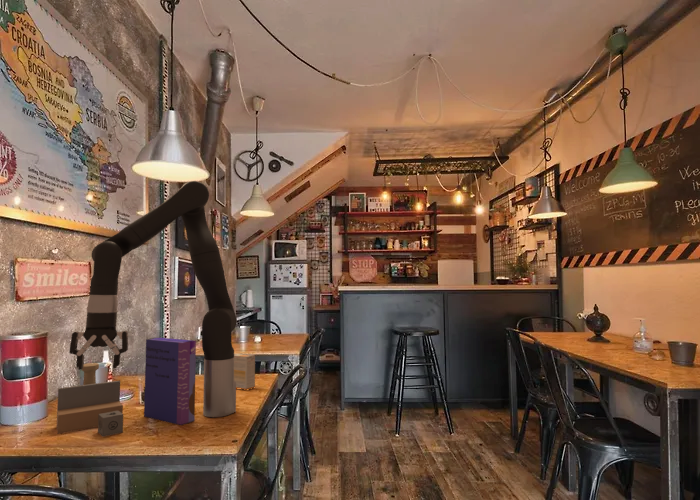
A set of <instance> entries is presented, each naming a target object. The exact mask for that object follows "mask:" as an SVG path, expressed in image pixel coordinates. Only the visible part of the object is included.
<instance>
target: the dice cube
mask: <svg viewBox="0 0 700 500" xmlns="http://www.w3.org/2000/svg"><path fill="white" fill-rule="evenodd" d="M97 433H98V434H99V435H100V436H101V437H102V438H103V437H107V436H113V435H117V434H121V433H122V434H123V433H124V413H123V414H122V413H121V412H119V411H113V412H107V413H102V414H98V427H97Z"/></svg>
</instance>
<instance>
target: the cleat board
mask: <svg viewBox="0 0 700 500" xmlns="http://www.w3.org/2000/svg"><path fill="white" fill-rule="evenodd" d="M120 398H121V380H112V381H107V382H106V381H105V382H97V383H96V384H88V385H83V384H82V385H73V386H67V387H58V389H57V408H56V432H57V434H58V435H60V434H64V433H71V432H77V431H81V430H87V429H93V428H98V414H102V413H107V412H113V411H119V412H121V413H122V414H123V415H124V413H123V410H124V405H123V404H122V402H121V401H120V400H121V399H120ZM59 433H60V434H59Z"/></svg>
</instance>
